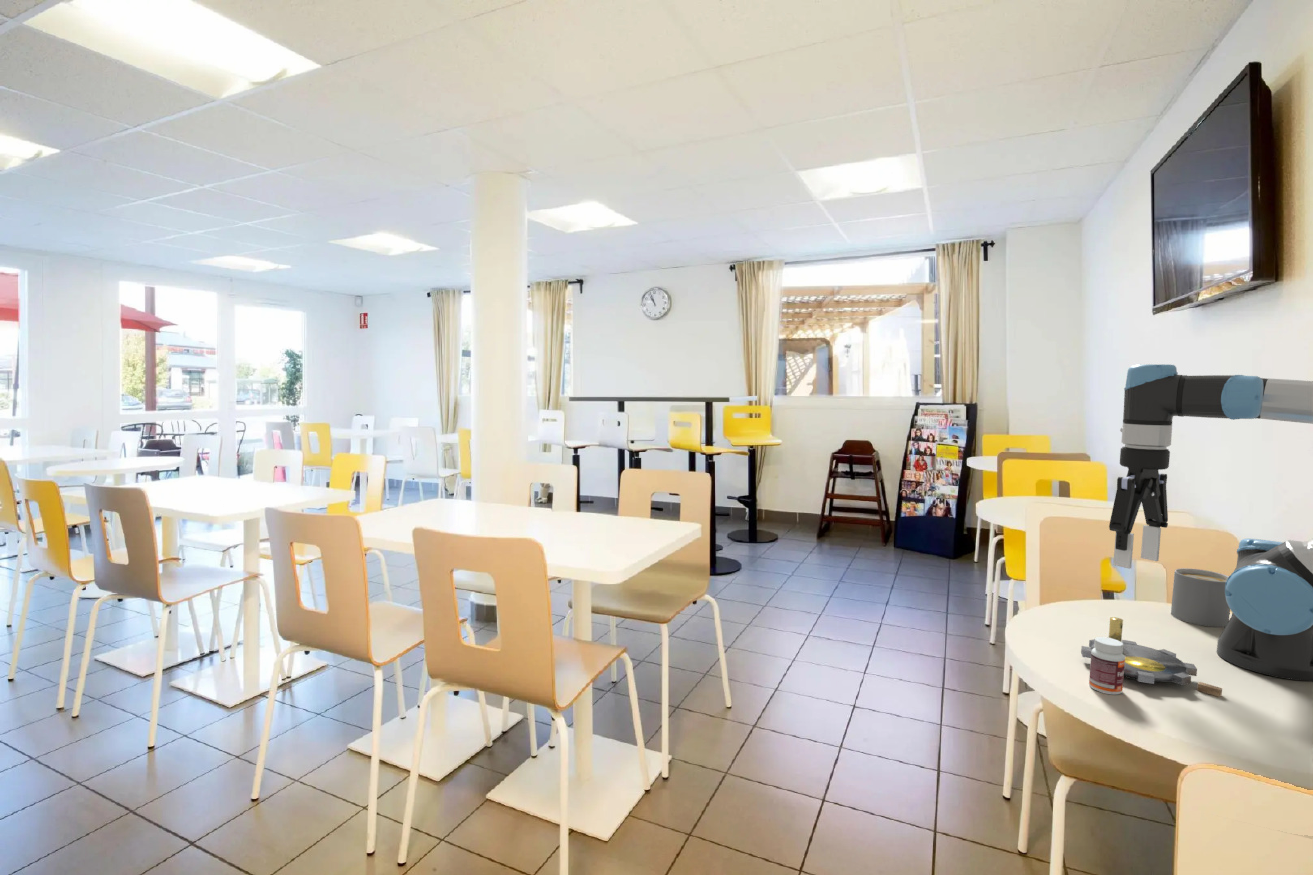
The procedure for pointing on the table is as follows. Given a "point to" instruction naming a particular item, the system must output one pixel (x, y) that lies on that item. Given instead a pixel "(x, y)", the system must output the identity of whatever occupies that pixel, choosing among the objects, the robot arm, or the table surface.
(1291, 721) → the table surface
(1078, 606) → the table surface
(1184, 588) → the coffee mug
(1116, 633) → the disc
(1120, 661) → the pill bottle
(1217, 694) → the pointer
